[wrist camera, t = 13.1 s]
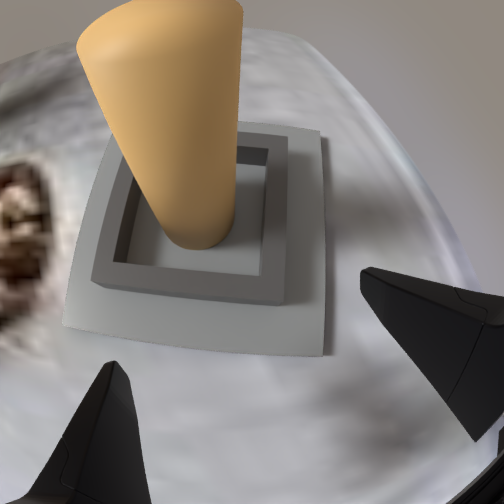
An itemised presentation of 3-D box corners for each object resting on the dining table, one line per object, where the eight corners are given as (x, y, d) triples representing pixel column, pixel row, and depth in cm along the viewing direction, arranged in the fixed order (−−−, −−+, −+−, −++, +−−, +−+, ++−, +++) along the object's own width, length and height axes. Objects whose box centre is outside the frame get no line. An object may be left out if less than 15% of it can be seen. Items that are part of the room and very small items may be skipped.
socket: (318, 356, 16) (334, 357, 14) (68, 326, 16) (45, 321, 13) (317, 137, 21) (326, 113, 19) (120, 126, 21) (111, 103, 18)
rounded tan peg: (197, 266, 17) (130, 86, 5) (146, 217, 18) (54, 43, 5) (250, 212, 18) (278, 12, 6) (198, 170, 19) (173, -16, 7)
